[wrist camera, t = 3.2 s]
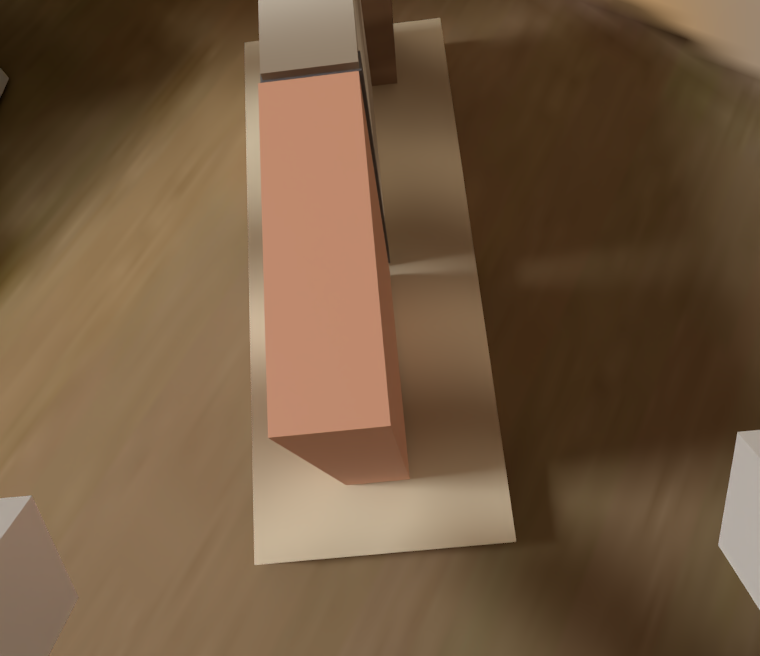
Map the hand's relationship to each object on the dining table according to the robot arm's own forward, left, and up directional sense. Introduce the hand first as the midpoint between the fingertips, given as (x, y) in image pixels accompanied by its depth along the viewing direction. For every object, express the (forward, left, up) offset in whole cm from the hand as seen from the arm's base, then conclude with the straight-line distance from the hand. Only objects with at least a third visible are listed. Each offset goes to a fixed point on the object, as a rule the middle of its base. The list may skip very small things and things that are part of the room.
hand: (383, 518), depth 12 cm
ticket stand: (-9, +3, -9) cm, 13 cm away
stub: (-5, +1, -8) cm, 9 cm away
